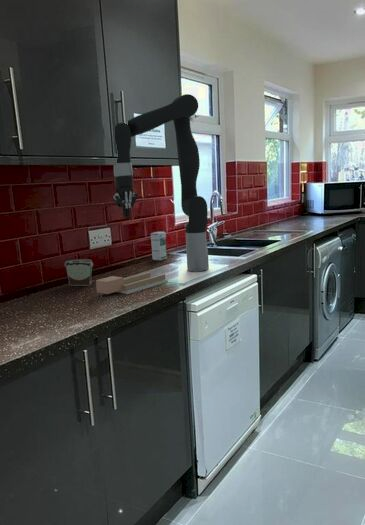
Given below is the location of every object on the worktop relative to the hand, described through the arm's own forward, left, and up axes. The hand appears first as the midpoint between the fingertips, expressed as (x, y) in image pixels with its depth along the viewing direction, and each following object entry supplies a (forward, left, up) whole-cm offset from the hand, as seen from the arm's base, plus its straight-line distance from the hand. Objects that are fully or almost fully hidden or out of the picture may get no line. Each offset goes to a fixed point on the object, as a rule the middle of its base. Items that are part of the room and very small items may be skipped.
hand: (127, 217), depth 180 cm
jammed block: (+21, +11, -25) cm, 35 cm away
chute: (+7, +11, -26) cm, 29 cm away
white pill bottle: (-43, -23, -26) cm, 55 cm away
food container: (+15, -13, -26) cm, 33 cm away
